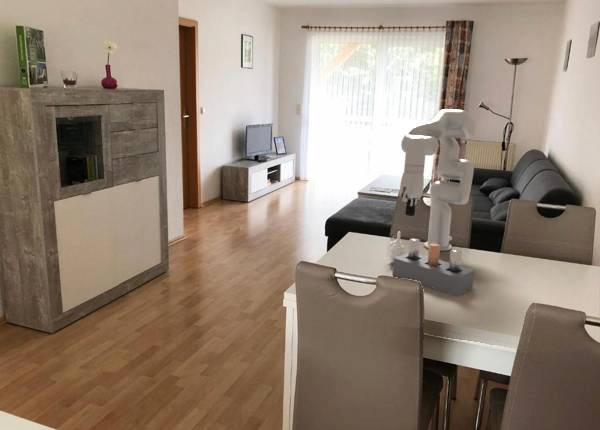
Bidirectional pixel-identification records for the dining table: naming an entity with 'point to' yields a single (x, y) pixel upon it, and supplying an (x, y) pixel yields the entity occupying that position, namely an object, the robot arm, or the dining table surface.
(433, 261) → the plunger mid
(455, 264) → the clear piece
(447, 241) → the robot arm
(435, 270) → the grey long block
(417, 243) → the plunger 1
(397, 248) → the white tall piece
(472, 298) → the dining table surface
